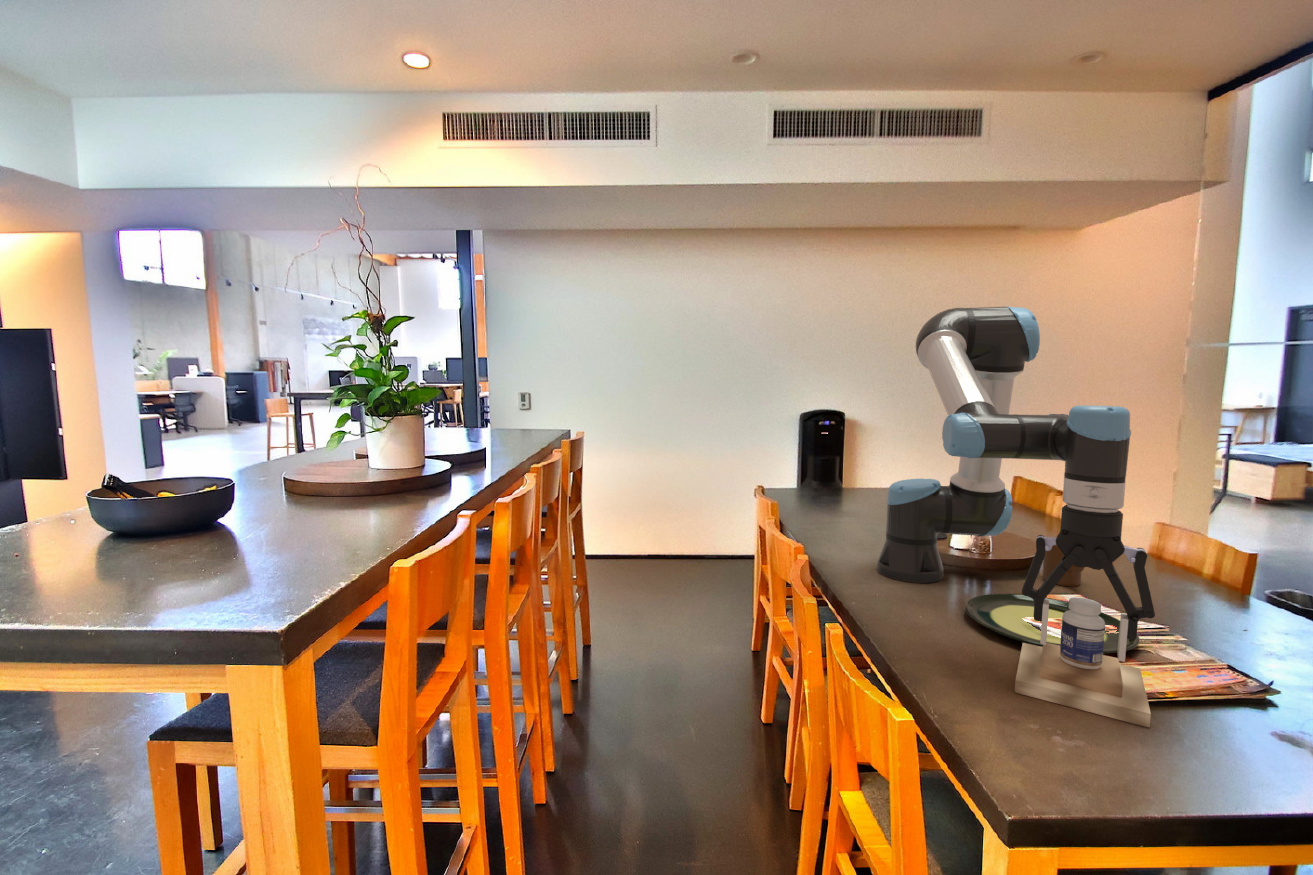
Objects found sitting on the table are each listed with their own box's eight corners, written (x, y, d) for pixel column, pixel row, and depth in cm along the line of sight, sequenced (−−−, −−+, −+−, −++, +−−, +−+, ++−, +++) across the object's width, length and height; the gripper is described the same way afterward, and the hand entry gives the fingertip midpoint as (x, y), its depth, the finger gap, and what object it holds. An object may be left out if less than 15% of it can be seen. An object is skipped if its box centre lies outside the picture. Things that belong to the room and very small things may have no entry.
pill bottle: (1054, 652, 96) (1059, 593, 95) (1094, 657, 94) (1099, 597, 93) (1065, 667, 91) (1069, 605, 90) (1107, 673, 89) (1112, 610, 88)
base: (1014, 692, 91) (1016, 667, 91) (1022, 653, 104) (1023, 631, 104) (1149, 727, 82) (1152, 699, 81) (1139, 680, 95) (1141, 656, 94)
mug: (1099, 594, 133) (1102, 553, 132) (1062, 593, 134) (1065, 552, 133) (1069, 577, 145) (1072, 539, 144) (1036, 575, 146) (1038, 538, 145)
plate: (1084, 679, 96) (1085, 664, 96) (933, 617, 120) (934, 605, 120) (1169, 644, 109) (1170, 631, 108) (1017, 595, 133) (1018, 584, 133)
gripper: (1006, 502, 93) (998, 639, 95) (1191, 521, 81) (1177, 679, 83) (1010, 495, 99) (1002, 624, 102) (1183, 512, 87) (1170, 659, 89)
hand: (1081, 649), depth 92 cm, fingers open, 9 cm apart
